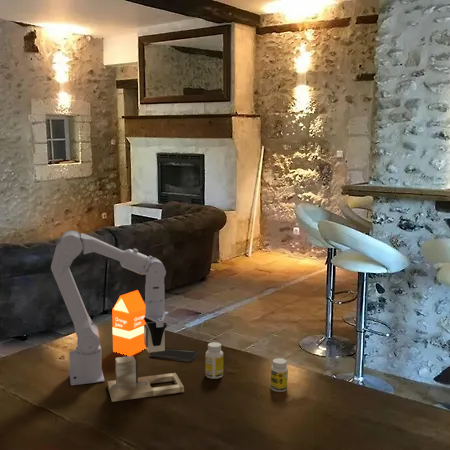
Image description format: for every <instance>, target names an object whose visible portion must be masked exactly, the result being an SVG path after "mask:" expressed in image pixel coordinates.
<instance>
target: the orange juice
mask: <svg viewBox="0 0 450 450" xmlns="http://www.w3.org/2000/svg"><path fill="white" fill-rule="evenodd" d="M111 313H112V318H111V319H112V352H113V353H116V352H117V354H119V353H120V354H121V355H123V354H124V355H123V356H126V355H127V356H134V355H136V354H138V353H141V352H143V351H144V349H145V350H147V349H146V346H145V344H144V325H146V322H145V320H144V317H145V300H143V298H142V295H141V293H140V292H139V290H138V289H136V290H133V291H129V292H127V293H125V294H121V295H119V298H118V299H117V301H116V303H115V304H114V307H112V312H111ZM142 350H143V351H142ZM127 356H126V357H127Z"/></svg>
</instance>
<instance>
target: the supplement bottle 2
mask: <svg viewBox="0 0 450 450" xmlns="http://www.w3.org/2000/svg"><path fill="white" fill-rule="evenodd" d="M287 365H288V363H287V359H285V358H282V357H281V358H280V357H278V358H274V359H273V360H272V366H271V367H270V389H271V391H273V392H278V393H281V392H286V391H287V390H288V379H289V377H288V376H289V369H288V367H287Z"/></svg>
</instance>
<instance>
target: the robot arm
mask: <svg viewBox="0 0 450 450" xmlns="http://www.w3.org/2000/svg"><path fill="white" fill-rule="evenodd" d="M82 251H83V255H87V254H91V253H95V254H98V255H102V256H105V257H107V258H111V259H113V260H115V261H118V262H119V264H120V266H121V268H124V269H126V270H128V271H131V272H134V273H136V274H138V275H142V276H143V275H145V284H144V290H145V291H144V295H145V296H144V297H145V299H144V303H145V317H144V320H145V322H154V323H147V325H148V327H149V329H150V332H151V337H152V343H153V346H160V345H161V341H162V336H163V333H164V330H166V328H167V327H168V323H166V322H164V320H165V317H166V316H169V312H168V311H166V310H165V305H166V304H165V277H166V274H167V270H166V267H165V266H164V264H163V262H162V261H161V260H160V259H158V258H157V257H153V256H152V255H149V256H147V255H146V254H143V253H141V252H139V249H137V248H133V249H131V248H128V249H124V250H123V249H120V248H118V247H116V246H114V245H112V244H109V243H107V242H104V241H102V240H101V239H99V238H96V237H94V236H92V235H89V234H86V233H81V232H78V231H76V230H67V231H65V232H64V233H62V235H61V236H60V237H59V239H58V240H57V242H56V247H55V249H54V253H53V257H52V261H51V265H50V271H51V273H52V275H53V278H54V280H55V282H56V284H57V287H58V290H59V291H60V294H61V296H62V299H63V302H64V303H65V307H66V309H67V311H68V314H69V317H70V318H71V320H72V323H73V326H74V331H75V334H76V338H77V339H76V340H77V341H76V345H77V346H76V347H75V349H74V350H70V351H69V352H68V359H69V360H68V362H69V363H68V364H69V367H68V377H69V380H70V386H78V385H86V384H95V383H101V382H102V383H104V382H105V377H104V373H103V369H102V365H103V364H102V346H101V341H100V330H99V327H98V325H96V324H94V322H93V321H92V319H91V317H90V315H89V313H88V311H87V309H86V306H85V304H84V300H83V298H82V296H81V293H80V291H79V288H78V286H77V283H76V281H75V278H74V276H73V273H72V272H71V268H70V267H71V265H72V264H73V261H74V260H75V259H76V258H77V257H78V256H79V255H80V254H81V253H82Z"/></svg>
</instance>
